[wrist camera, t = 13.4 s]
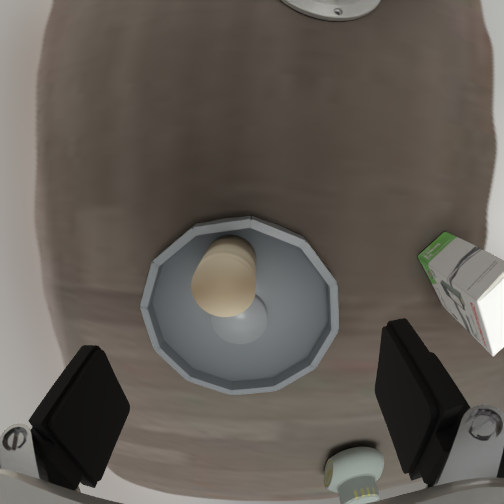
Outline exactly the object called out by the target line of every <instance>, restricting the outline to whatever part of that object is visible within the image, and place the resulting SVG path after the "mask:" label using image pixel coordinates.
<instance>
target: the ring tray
mask: <svg viewBox="0 0 504 504" xmlns="http://www.w3.org/2000/svg"><path fill="white" fill-rule="evenodd" d="M229 234H231V235H237V236H240V237H243V238H244V239H246V240H247V241H248V242H249V243H250V244H251V245H252V246H253V248H254V250H255V253H256V293H255V297H254V300H253V302H252V304H251V305H250V306H249V307H248V308H247V309H246V310H245V311H244V312H242V313H241V314H238V315H236V316H232V317H218V316H214V315H212V314H209V313H207V312H206V311H204V310H203V309H202V308H201V307H200V306H199V305H198V304H197V303H196V301H195V299H194V297H193V295H192V290H191V281H192V277H193V275H194V273H195V271H196V269H197V267H198V265H199V263H200V261H201V259H202V258H203V256H204V254H205V252H206V250H207V248H208V246H209V245H210V244H211V242H212V241H214V240H215V239H216V238H218V237H220V236H223V235H229ZM140 309H141V312H142V315H143V318H144V322H145V325H146V328H147V331H148V334H149V337H150V340H151V343H152V345H153V348H154V349H155V351H156V352H157V353H158V354H159V355H160V356H161V357H162V358H163V359H164V360H165V361H166V362H167V363H168V364H169V365H171V366H172V367H173V368H174V369H175V370H176V371H177V372H178V373H179V374H180V375H181V376H182V377H184V378H185V379H186V380H188V381H190V382H192V383H195V384H198V385H201V386H204V387H207V388H210V389H213V390H216V391H219V392H222V393H226V394H229V395H230V394H231V395H239V394H251V393H262V392H271V391H276V390H279V389H281V388H283V387H284V386H286V385H288V384H290V383H292V382H293V381H295V380H297V379H298V378H300V377H302V376H304V375H305V374H307V373H309V372H310V371H312V370H314V369H315V368H316V367H317V365H318V364H319V362H320V361H321V359H322V357H323V356H324V354H325V353H326V351H327V349H328V348H329V346H330V344H331V343H332V341H333V339H334V338H335V336H336V334H337V333H338V330H339V311H338V284H337V282H336V280H335V279H334V277H333V275H332V274H331V273H330V271H329V270H328V269H327V267H326V266H325V264H324V263H323V262H322V260H321V259H320V257H319V256H318V255H317V253H316V252H315V251H314V249H313V248H312V247H311V245H310V244H309V243H308V241H307V240H306V239H305V237H303V236H301V235H299V234H297V233H294V232H292V231H290V230H288V229H286V228H284V227H282V226H279V225H277V224H274V223H271V222H268V221H265V220H262V219H259V218H257V217H254V216H252V218H251V216H244V217H234V218H223V219H218V220H214V221H210V222H203V223H197V224H196V225H194V226H192V227H191V228H190V229H189V230H188V231H186V232H185V233H184V234H183V235H182V236H180V237H179V238H178V239H177V240H176V241H175V242H173V243H172V244H171V245H170V246H169V247H167V248H166V249H165V250H164V251H163V252H162V253H160V254H159V255H158V256H157V257H156V258H155V259H154V260H153V262H152V264H151V267H150V271H149V274H148V278H147V282H146V285H145V289H144V293H143V297H142V301H141V305H140Z"/></svg>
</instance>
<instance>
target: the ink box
mask: <svg viewBox="0 0 504 504" xmlns="http://www.w3.org/2000/svg"><path fill="white" fill-rule="evenodd" d="M418 259H419V261H420V263H421V264H422V266H423V268H424V270H425V272H426V274H427V276H428V278H429V280H430V281H431V283H432V285H433V287H434V289H435V291H436V293H437V295H438V297H439V299H440V301H441V304H442V306H443V307H444V308H445V309H446V310H447V311H448V312H449V313H450V314H451V315H452V316H453V317H454V318H455V319H456V320H457V321H458V322H459V323H460V324H461V325H462V326H463V327H464V328H465V329H466V330H467V331H468V332H469V333H470V334H471V335H472V336H473V337H474V338H475V339H476V340H477V341H478V342H479V343H480V344H481V345H482V346H483V347H484V348H485V349H486V350H487V351H488V352H489V353H490V354H491V355H492V356H495V355H496V354H497V353H498V352H499V351H500V350H501V349H502V348H503V347H504V261H503V260H501V259H499V258H497V257H496V256H494V255H492V254H490V253H488V252H486V251H484V250H482V249H480V248H479V247H477V246H475V245H473V244H471V243H469V242H467V241H464V240H463V239H461V238H458V237H456V236H454V235H452V234H450V233H448V232H443V233H442V234H441V235H440V236H439V237H438V238H437V239H436V240H435V241H434V242H432V243H431V244H430V245H429V246H428V247H427V248H426V249H425V250H423V251H422V252H421V253H420V254H419V255H418Z"/></svg>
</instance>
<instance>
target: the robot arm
mask: <svg viewBox="0 0 504 504" xmlns="http://www.w3.org/2000/svg"><path fill="white" fill-rule="evenodd" d="M281 1H282V2H284V3H285V4H286V5H288V6H289V7H291V8H293V9H294V10H296V11H298V12H301V13H303V14H305V15H308V16H311V17H314V18H317V19H323V20H328V21H348V20H354V19H358V18H361V17H363V16H365V15H367V14H369V13H370V12H371V11H372V10H374V9H375V8H376V6H377V5H378V4H379V3H380V1H381V0H281ZM336 13H337V14H338V15H337V14H336ZM375 394H376V398H377V400H378V403H379V406H380V408H381V411H382V414H383V416H384V419H385V422H386V424H387V427H388V430H389V433H390V436H391V438H392V441H393V444H394V447H395V450H396V453H397V456H398V459H399V461H400V464H401V467H402V470H403V472H404V473H405V474H406V473H409V475H410V478H411V480H414V479H418V478H421V477H422V478H423V481H424V483H426V484H427V485H426V486H425V488H424V489H423V490H419V491H415V492H411V493H407V494H403V495H399V496H396V497H392V498H389V499H384V500H380V501H375V502H371V503H366V504H504V414H503V413H502V411H500V410H499V409H498V408H496V407H494V406H491V405H483V404H482V405H477V406H474V407H472V408H470V406H469V405H468V403H467V401H466V400H465V398H464V397H463V395H462V394H461V392H460V390H459V389H458V387H457V386H456V384H455V383H454V381H453V380H452V378H451V377H450V375H449V374H448V372H447V371H446V369H445V368H444V366H443V365H442V363H441V362H440V360H439V359H438V357H437V356H436V355H435V354H434V353H432V352H429V350H428V349H427V347H426V346H425V345H424V343H423V342H422V340H421V339H420V337H419V336H418V334H417V333H416V332H415V330H414V329H413V327H412V326H411V325H410V323H409V322H408V320H407V319H405V318H403V319H398V320H393V321H389V322H388V323H387V326H385V327H383V328H382V335H381V345H380V354H379V362H378V370H377V377H376V383H375ZM129 411H130V405H129V402H128V400H127V398H126V396H125V394H124V392H123V390H122V388H121V386H120V384H119V382H118V380H117V378H116V376H115V374H114V372H113V369H112V367H111V365H110V363H109V361H108V358H107V356H106V354H105V352H104V351H103V350H101V348H100V347H99V346H93V345H84V346H82V347H81V348H80V350H79V351H78V352H77V354H76V355H75V356H74V358H73V359H72V360H71V362H70V363H69V364H68V366H67V367H66V368H65V370H64V371H63V372H62V374H61V375H60V376H59V378H58V379H57V381H56V382H55V383H54V385H53V386H52V387H51V389H50V390H49V392H48V393H47V395H46V396H45V397H44V399H43V400H42V402H41V403H40V405H39V406H38V407H37V409H36V410H35V412H34V413H33V415H32V416H31V418H30V419H29V422H30V424H31V425H32V426H33V427H32V429H31V430H30V428H28V426H26V425H24V424H15V425H12V426H10V427H8V428H7V429H6V430H5V431H4V432H3V433H2V435H1V437H0V504H122V503H118V502H113V501H109V500H105V499H101V498H97V497H94V496H90V495H86V494H83V493H81V492H80V489H79V487H78V485H79V483H80V482H81V483H82V484H83V485H87V486H90V487H93V488H95V486H96V484H97V481H100V480H101V478H102V476H103V474H104V471H105V469H106V466H107V464H108V462H109V459H110V457H111V454H112V452H113V449H114V447H115V444H116V442H117V440H118V437H119V435H120V433H121V430H122V428H123V425H124V423H125V421H126V418H127V416H128V414H129Z"/></svg>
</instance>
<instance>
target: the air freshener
mask: <svg viewBox="0 0 504 504" xmlns="http://www.w3.org/2000/svg"><path fill="white" fill-rule="evenodd" d="M383 467H384V457H383V454H382V453H381V452H380V451H379V450H377V449H374V448H371V447H354V448H350V449H346V450H344V451H341V452H339V453H337V454H335V455H334V456H332V457H331V458H330V459H329V460H328V461H327V464H326V467H325V472H324V485H325V488H327V489H328V490H330V491H333V492H337V493H339V498H340V503H341V504H366V503H371V502H375V501H378V500H379V498H380V496H379V492H378V489H377V485H376V481H377V480H378V479H379V477H380V476H381V474H382V471H383Z"/></svg>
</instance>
